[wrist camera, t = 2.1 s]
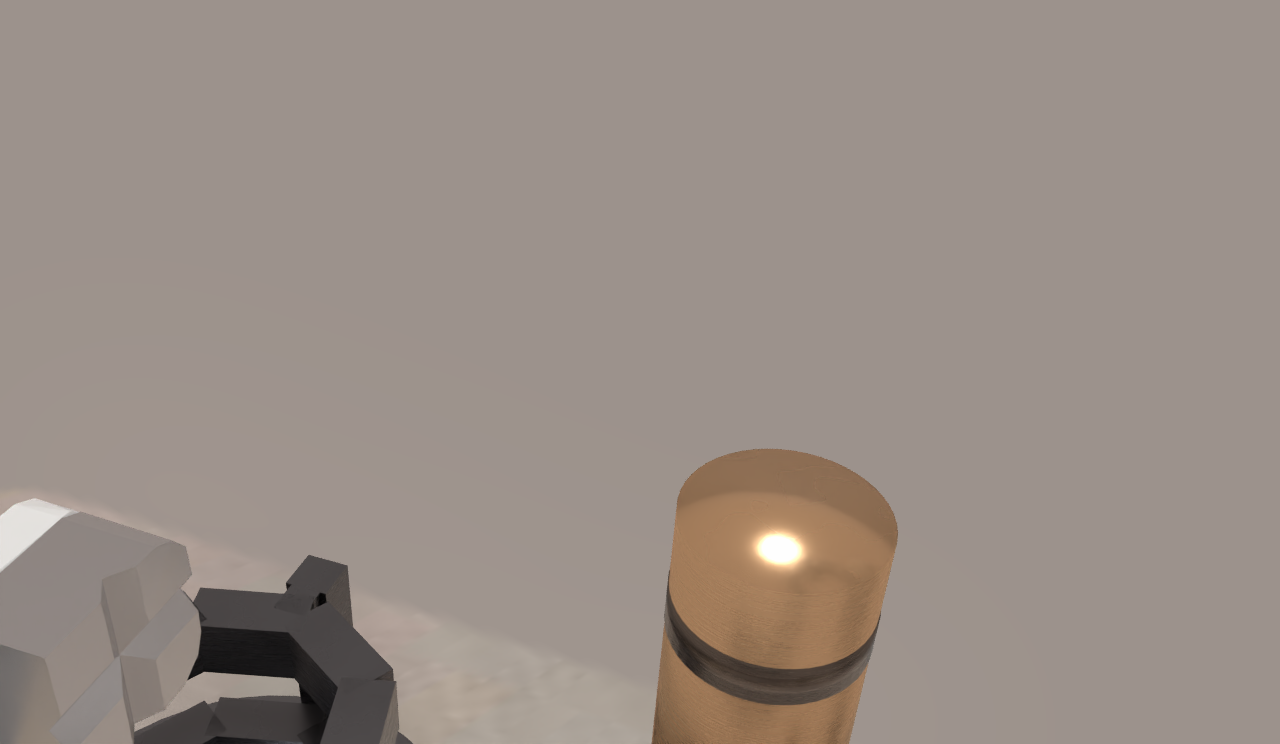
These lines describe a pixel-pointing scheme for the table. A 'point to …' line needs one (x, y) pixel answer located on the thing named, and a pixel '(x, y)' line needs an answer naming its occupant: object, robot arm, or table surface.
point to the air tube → (771, 601)
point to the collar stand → (288, 668)
